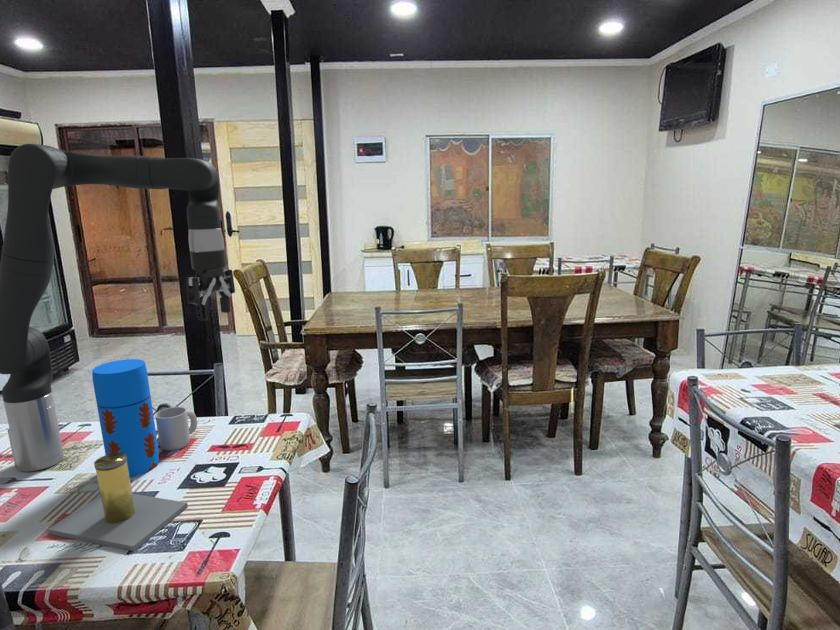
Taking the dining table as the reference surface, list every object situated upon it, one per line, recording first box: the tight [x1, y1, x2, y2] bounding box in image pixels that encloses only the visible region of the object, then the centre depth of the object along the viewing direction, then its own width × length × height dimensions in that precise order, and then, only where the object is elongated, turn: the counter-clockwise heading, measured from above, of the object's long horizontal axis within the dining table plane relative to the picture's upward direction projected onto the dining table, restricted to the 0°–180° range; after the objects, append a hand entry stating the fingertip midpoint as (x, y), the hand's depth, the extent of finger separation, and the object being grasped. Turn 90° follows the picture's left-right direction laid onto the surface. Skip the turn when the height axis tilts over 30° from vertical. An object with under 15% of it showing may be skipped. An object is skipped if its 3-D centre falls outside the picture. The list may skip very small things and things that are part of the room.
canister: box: [93, 453, 135, 523], centre depth 101 cm, size 5×5×12 cm
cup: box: [154, 406, 198, 452], centre depth 134 cm, size 7×10×9 cm
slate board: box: [47, 493, 189, 552], centre depth 102 cm, size 20×14×1 cm
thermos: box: [91, 358, 160, 478], centre depth 120 cm, size 11×11×25 cm
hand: (214, 316), depth 124 cm, fingers open, 8 cm apart
